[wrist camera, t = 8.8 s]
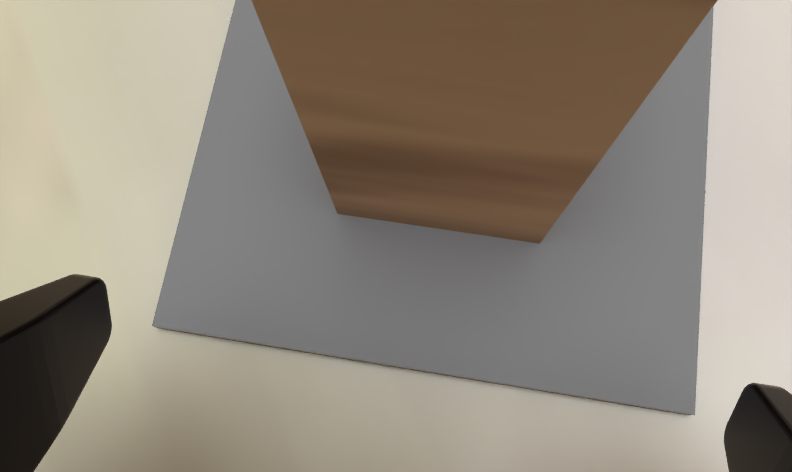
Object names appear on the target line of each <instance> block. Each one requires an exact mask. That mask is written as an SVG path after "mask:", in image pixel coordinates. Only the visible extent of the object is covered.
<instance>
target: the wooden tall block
mask: <svg viewBox="0 0 792 472" xmlns="http://www.w3.org/2000/svg"><path fill="white" fill-rule="evenodd" d="M251 1H252V3H253V5H254V8H255V10H256V13H257V15H258V18H259V20H260V23H261V25H262V28H263V30H264V33H265V35H266V38H267V40H268V43H269V45H270V48H271V50H272V53H273V55H274V58H275V60H276V62H277V65H278V67H279V70H280V72H281V75H282V77H283V80H284V82H285V85H286V87H287V90H288V92H289V95H290V97H291V100H292V102H293V105H294V107H295V110H296V112H297V115H298V117H299V120H300V122H301V124H302V127H303V129H304V132H305V134H306V137H307V139H308V142H309V144H310V147H311V149H312V152H313V154H314V157H315V159H316V162H317V164H318V167H319V169H320V172H321V174H322V177H323V179H324V181H325V184H326V186H327V189H328V191H329V194H330V196H331V199H332V201H333V204H334V206H335V209H336V211H337V214H342V215H349V216H355V217H362V218H369V219H376V220H382V221H389V222H396V223H403V224H410V225H416V226H423V227H430V228H437V229H443V230H450V231H457V232H464V233H470V234H477V235H484V236H491V237H498V238H504V239H511V240H518V241H525V242H531V243H538V244H540V243H541V241H542V240H543V239H544V237H545V236H546V234H547V233H548V232H549V230H550V229H551V228H552V226H553V225H554V224H555V222H556V221H557V219H558V218H559V217H560V215H561V214H562V213H563V211H564V210H565V208H566V207H567V206H568V204H569V203H570V202H571V200H572V199H573V197H574V196H575V195H576V193H577V192H578V191H579V189H580V188H581V187H582V185H583V184H584V182H585V181H586V180H587V178H588V177H589V176H590V174H591V173H592V171H593V170H594V169H595V167H596V166H597V165H598V163H599V162H600V160H601V159H602V158H603V156H604V155H605V154H606V152H607V151H608V149H609V148H610V147H611V145H612V144H613V143H614V141H615V140H616V139H617V137H618V136H619V134H620V133H621V132H622V130H623V129H624V128H625V126H626V125H627V123H628V122H629V121H630V119H631V118H632V117H633V115H634V114H635V112H636V111H637V110H638V108H639V107H640V106H641V104H642V103H643V101H644V100H645V99H646V97H647V96H648V95H649V93H650V92H651V91H652V89H653V88H654V86H655V85H656V84H657V82H658V81H659V80H660V78H661V77H662V75H663V74H664V73H665V71H666V70H667V69H668V67H669V66H670V64H671V63H672V62H673V60H674V59H675V58H676V56H677V55H678V54H679V52H680V51H681V49H682V48H683V47H684V45H685V44H686V43H687V41H688V40H689V38H690V37H691V36H692V34H693V33H694V32H695V30H696V29H697V27H698V26H699V25H700V23H701V22H702V21H703V19H704V18H705V16H706V15H707V14H708V12H709V11H710V10H711V8H712V7H713V6H714V4H715V3H716V1H717V0H251Z"/></svg>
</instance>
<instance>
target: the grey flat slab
mask: <svg viewBox="0 0 792 472" xmlns="http://www.w3.org/2000/svg"><path fill="white" fill-rule="evenodd" d="M712 26H713V7H712V8H711V10H710V11H709V12H708V14H707V15H706V16H705V18H704V19H703V21H702V22H701V23H700V25H699V26H698V27H697V29H696V30H695V32H694V33H693V34H692V36H691V37H690V38H689V40H688V41H687V43H686V44H685V45H684V47H683V48H682V49H681V51H680V52H679V54H678V55H677V56H676V58H675V59H674V60H673V62H672V63H671V64H670V66H669V67H668V69H667V70H666V71H665V73H664V74H663V75H662V77H661V78H660V80H659V81H658V82H657V84H656V85H655V86H654V88H653V89H652V91H651V92H650V93H649V95H648V96H647V97H646V99H645V100H644V101H643V103H642V104H641V106H640V107H639V108H638V110H637V111H636V112H635V114H634V115H633V117H632V118H631V119H630V121H629V122H628V123H627V125H626V126H625V128H624V129H623V130H622V132H621V133H620V134H619V136H618V137H617V139H616V140H615V141H614V143H613V144H612V145H611V147H610V148H609V149H608V151H607V152H606V154H605V155H604V156H603V158H602V159H601V160H600V162H599V163H598V165H597V166H596V167H595V169H594V170H593V171H592V173H591V174H590V176H589V177H588V178H587V180H586V181H585V182H584V184H583V185H582V187H581V188H580V189H579V191H578V192H577V193H576V195H575V196H574V197H573V199H572V200H571V202H570V203H569V204H568V206H567V207H566V208H565V210H564V211H563V213H562V214H561V215H560V217H559V218H558V219H557V221H556V222H555V224H554V225H553V226H552V228H551V229H550V230H549V232H548V233H547V234H546V236H545V237H544V239H543V240H542V241H541V243H540V244H538V243H531V242H525V241H518V240H511V239H504V238H498V237H491V236H484V235H477V234H470V233H464V232H457V231H450V230H443V229H437V228H430V227H423V226H416V225H410V224H403V223H396V222H389V221H382V220H376V219H369V218H362V217H355V216H349V215H342V214H337V211H336V209H335V206H334V204H333V201H332V199H331V196H330V194H329V191H328V189H327V186H326V184H325V181H324V179H323V177H322V174H321V172H320V169H319V167H318V164H317V162H316V159H315V157H314V154H313V152H312V149H311V147H310V144H309V142H308V139H307V137H306V134H305V132H304V129H303V127H302V124H301V122H300V120H299V117H298V115H297V112H296V110H295V107H294V105H293V102H292V100H291V97H290V95H289V92H288V90H287V87H286V85H285V82H284V80H283V77H282V75H281V72H280V70H279V67H278V65H277V62H276V60H275V58H274V55H273V53H272V50H271V48H270V45H269V43H268V40H267V38H266V35H265V33H264V30H263V28H262V25H261V23H260V20H259V18H258V15H257V13H256V10H255V8H254V5H253V3H252V1H251V0H236V1H235V5H234V9H233V13H232V17H231V21H230V24H229V28H228V32H227V36H226V40H225V44H224V48H223V52H222V56H221V59H220V63H219V67H218V71H217V75H216V79H215V83H214V87H213V91H212V95H211V98H210V102H209V106H208V110H207V114H206V118H205V122H204V126H203V130H202V133H201V137H200V141H199V145H198V149H197V153H196V157H195V161H194V165H193V168H192V172H191V176H190V180H189V184H188V188H187V192H186V196H185V200H184V203H183V207H182V211H181V215H180V219H179V223H178V227H177V231H176V235H175V238H174V242H173V246H172V250H171V254H170V258H169V262H168V266H167V270H166V274H165V277H164V281H163V285H162V289H161V293H160V297H159V301H158V305H157V309H156V312H155V316H154V320H153V324H152V326H154V327H157V328H162V329H168V330H174V331H180V332H186V333H192V334H198V335H204V336H211V337H217V338H223V339H229V340H235V341H241V342H247V343H253V344H259V345H265V346H272V347H278V348H284V349H290V350H296V351H302V352H308V353H314V354H320V355H326V356H333V357H339V358H345V359H351V360H357V361H363V362H369V363H375V364H381V365H387V366H394V367H400V368H406V369H412V370H418V371H424V372H430V373H436V374H442V375H448V376H455V377H461V378H467V379H473V380H479V381H485V382H491V383H497V384H503V385H509V386H516V387H522V388H528V389H534V390H540V391H546V392H552V393H558V394H564V395H570V396H577V397H583V398H589V399H595V400H601V401H607V402H613V403H619V404H625V405H631V406H638V407H644V408H650V409H656V410H662V411H668V412H674V413H680V414H686V415H695V399H696V377H697V356H698V334H699V312H700V290H701V268H702V246H703V224H704V202H705V180H706V158H707V136H708V114H709V92H710V70H711V48H712Z"/></svg>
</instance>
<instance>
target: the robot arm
mask: <svg viewBox="0 0 792 472" xmlns="http://www.w3.org/2000/svg"><path fill="white" fill-rule="evenodd" d="M111 328H112V323H111V316H110V309H109V302H108V295H107V289H106V285H105V283H104V281H103V280H101V279H100V278H97V277H91V276H85V275H78V274H73V275H69V276H67V277H64V278H61V279H59V280H56V281H53V282H51V283H48V284H45V285H43V286H40V287H37V288H35V289H32V290H29V291H26V292H24V293H21V294H18V295H16V296H13V297H10V298H8V299H5V300H2V301H0V472H34V470H35V469H36V467H37V466H38V464H39V463H40V461H41V460H42V458H43V457H44V455H45V454H46V452H47V451H48V449H49V448H50V446H51V445H52V443H53V442H54V440H55V439H56V437H57V436H58V434H59V432H60V431H61V429H62V427H63V426H64V424H65V422H66V420H67V419H68V417H69V415H70V413H71V411H72V409H73V408H74V406H75V404H76V402H77V400H78V398H79V396H80V394H81V392H82V390H83V388H84V387H85V385H86V383H87V381H88V379H89V377H90V375H91V373H92V371H93V369H94V368H95V366H96V364H97V362H98V360H99V358H100V356H101V354H102V352H103V350H104V348H105V347H106V345H107V343H108V340H109V338H110V335H111ZM724 445H725V451H726V457H727V463H728V468H729V472H792V394H790V393H789V392H788V391H786V390H785V389H783V388H781V387H777V386H770V385H764V384H758V383H752V384H749V385H747V386H746V387H745V388H744V390H743V391H742V393H741V396H740V398H739V400H738V402H737V404H736V406H735V408H734V410H733V413H732V415H731V417H730V419H729V421H728V423H727V426H726V429H725V433H724Z"/></svg>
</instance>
